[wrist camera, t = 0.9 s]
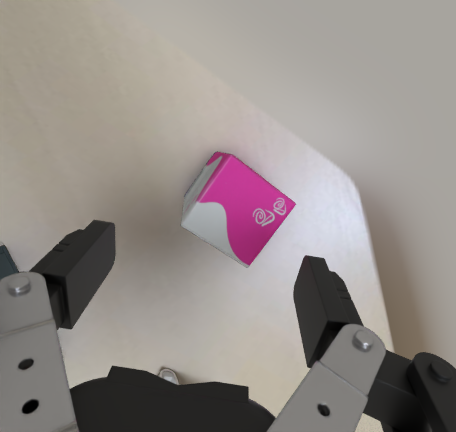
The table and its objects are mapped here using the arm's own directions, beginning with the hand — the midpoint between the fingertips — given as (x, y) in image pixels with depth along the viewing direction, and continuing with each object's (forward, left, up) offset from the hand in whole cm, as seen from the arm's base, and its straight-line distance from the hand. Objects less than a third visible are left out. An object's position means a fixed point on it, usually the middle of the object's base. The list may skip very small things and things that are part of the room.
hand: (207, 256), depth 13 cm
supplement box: (0, +2, -19) cm, 19 cm away
